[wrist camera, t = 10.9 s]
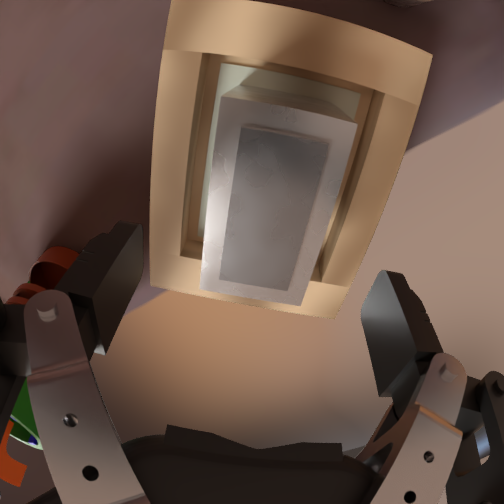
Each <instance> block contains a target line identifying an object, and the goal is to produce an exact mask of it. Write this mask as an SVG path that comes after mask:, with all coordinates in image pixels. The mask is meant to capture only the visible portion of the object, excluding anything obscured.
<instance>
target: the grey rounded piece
mask: <svg viewBox="0 0 504 504" xmlns="http://www.w3.org/2000/svg"><path fill="white" fill-rule="evenodd" d="M384 1H385V2H387V3H389V4H391V5H394V6H398V7H411V6H415V5H418V4H422V3H425V2H429V1H432V0H384Z"/></svg>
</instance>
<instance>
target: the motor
mask: <svg viewBox="0 0 504 504" xmlns="http://www.w3.org/2000/svg"><path fill="white" fill-rule="evenodd" d="M78 255H79V253H77V252H75V251H73V250H71V249H69V248H66V247H60V246H56V247H51V248H49V249H47V250H46V251H45V252H44V253H43V254H42V255H41V257H40V258H39V259H38V260H37V261H36V262H35V263H34V264H33V265H32V267H31V269H30V272H29V281H28V283H24V284H22V285H20V286H19V287H18V288H17V290H16V291H15V292H14V294H13V297H11V298H10V299H8V301H7V302H6V303H5V304H26V303H27V302H28V300H29V299H30V298H31V297H32V296H34V295H35V294H37V293H39V292H41V291H45V290H53V289H54V288H55V287H56V285H57V284H58V282H59V281H60V280H61V278H62V277H63V275H64V274H65V273H66V271H67V270H68V269H69V267H70V266H71V265H72V263H73V262H74V261H75V260H76V258H77V257H78ZM9 435H11V436H12V437H14V438H16V439H17V440H19V441H21V442H23V443H25V444H27V445H30V446H32V447H34V448H38V449H41V450H43V448H42V445H41V441H40V438H39V434H38V431H37V427H36V423H35V419H34V415H33V411H32V406H31V402H30V397H29V392H28V387H27V377H26V379H25V382H24V384H23V386H22V389H21V391H20V393H19V396H18V398H17V401H16V403H15V406H14V408H13V411H12V413H11V416H10V419H9V421H8V424H7V427H6V430H5V433H4V436H3V438H2V441H1V444H0V478H1V479H2V480H4V481H6V482H8V483H11V484H13V485H15V486H18V487H20V484H21V481H22V478H23V476H24V473H25V471H26V468H27V466H26V465H24V464H21V463H19V462H17V461H15V460H14V459H12V458H11V457H10V456H9V455H8V454H7V451H6V444H7V440H8V437H9Z"/></svg>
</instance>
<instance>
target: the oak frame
mask: <svg viewBox="0 0 504 504" xmlns="http://www.w3.org/2000/svg"><path fill="white" fill-rule="evenodd" d="M432 56H433V55H432V54H430V53H428V52H425V51H423V50H421V49H419V48H417V47H414V46H412V45H410V44H407V43H405V42H402V41H400V40H398V39H395V38H392V37H390V36H387V35H385V34H382V33H379V32H376V31H374V30H371V29H368V28H365V27H362V26H359V25H356V24H353V23H349V22H346V21H343V20H339V19H336V18H332V17H329V16H325V15H321V14H317V13H313V12H309V11H304V10H300V9H295V8H290V7H285V6H280V5H275V4H269V3H263V2H256V1H249V0H172V1H171V6H170V12H169V17H168V23H167V28H166V34H165V40H164V47H163V54H162V61H161V68H160V76H159V84H158V92H157V102H156V112H155V123H154V135H153V149H152V165H151V187H150V286H155V287H159V288H164V289H169V290H174V291H178V292H184V293H188V294H193V295H198V296H203V297H208V298H213V299H218V300H224V301H229V302H234V303H239V304H245V305H250V306H256V307H262V308H267V309H273V310H279V311H285V312H291V313H297V314H303V315H310V316H317V317H323V318H329V319H335V317H336V315H337V313H338V311H339V309H340V307H341V305H342V303H343V301H344V299H345V297H346V295H347V293H348V291H349V289H350V286H351V284H352V282H353V280H354V278H355V275H356V273H357V271H358V269H359V266H360V265H361V262H362V260H363V257H364V255H365V253H366V251H367V248H368V246H369V244H370V242H371V239H372V237H373V235H374V232H375V230H376V227H377V225H378V222H379V220H380V217H381V215H382V212H383V210H384V207H385V205H386V202H387V200H388V197H389V194H390V191H391V189H392V186H393V184H394V181H395V178H396V176H397V173H398V170H399V167H400V164H401V161H402V159H403V156H404V153H405V150H406V147H407V144H408V141H409V138H410V135H411V132H412V128H413V125H414V122H415V119H416V115H417V112H418V109H419V105H420V102H421V98H422V95H423V91H424V88H425V84H426V80H427V76H428V73H429V69H430V65H431V61H432ZM239 84H241V85H248V86H254V87H260V88H266V89H272V90H277V91H282V92H287V93H292V94H297V95H302V96H306V97H311V98H315V99H320V100H324V101H328V102H332V103H333V104H334V105H335V106H337V107H338V108H339V109H340V110H342V111H343V112H344V113H345V114H347V115H348V116H349V117H350V118H351V119H353V120H354V121H355V122H356V123H357V124H358V126H357V130H356V133H355V137H354V141H353V144H352V148H351V151H350V155H349V159H348V162H347V166H346V169H345V172H344V176H343V179H342V183H341V186H340V189H339V193H338V196H337V199H336V202H335V206H334V209H333V212H332V215H331V218H330V221H329V225H328V228H327V231H326V234H325V237H324V240H323V243H322V246H321V249H320V252H319V255H318V258H317V261H316V264H315V267H314V270H313V273H312V275H311V278H310V281H309V284H308V287H307V290H306V293H305V295H304V298H303V301H302V304H301V306H295V305H289V304H282V303H276V302H270V301H264V300H258V299H252V298H246V297H240V296H234V295H228V294H223V293H217V292H212V291H206V290H201V289H200V276H201V264H202V253H203V242H204V231H205V221H206V211H207V202H208V192H209V184H210V175H211V166H212V158H213V150H214V142H215V135H216V127H217V120H218V113H219V106H220V99H221V96H222V95H224V94H225V93H227V92H228V91H230V90H231V89H233V88H234V87H236V86H237V85H239Z"/></svg>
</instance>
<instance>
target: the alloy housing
mask: <svg viewBox="0 0 504 504" xmlns="http://www.w3.org/2000/svg"><path fill="white" fill-rule="evenodd" d="M357 126H358V124H357V123H356V122H355V121H354V120H353V119H351V118H350V117H349V116H348V115H347V114H345V113H344V112H343V111H342V110H340V109H339V108H338V107H337V106H335V105H334V104H333V103H332V102H328V101H324V100H320V99H315V98H311V97H306V96H302V95H297V94H292V93H287V92H282V91H277V90H272V89H266V88H260V87H254V86H248V85H241V84H239V85H237V86H236V87H234V88H233V89H231V90H230V91H228V92H227V93H225V94H224V95H222V96H221V99H220V106H219V113H218V120H217V127H216V135H215V142H214V150H213V158H212V166H211V175H210V184H209V192H208V202H207V211H206V221H205V231H204V242H203V253H202V264H201V276H200V289H201V290H206V291H212V292H217V293H223V294H228V295H234V296H240V297H246V298H252V299H258V300H264V301H270V302H276V303H282V304H289V305H295V306H301V304H302V301H303V298H304V295H305V293H306V290H307V287H308V284H309V281H310V278H311V275H312V273H313V270H314V267H315V264H316V261H317V258H318V255H319V252H320V249H321V246H322V243H323V240H324V237H325V234H326V231H327V228H328V225H329V221H330V218H331V215H332V212H333V209H334V206H335V202H336V199H337V196H338V193H339V189H340V186H341V183H342V179H343V176H344V172H345V169H346V166H347V162H348V159H349V155H350V151H351V148H352V144H353V141H354V137H355V133H356V130H357Z"/></svg>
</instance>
